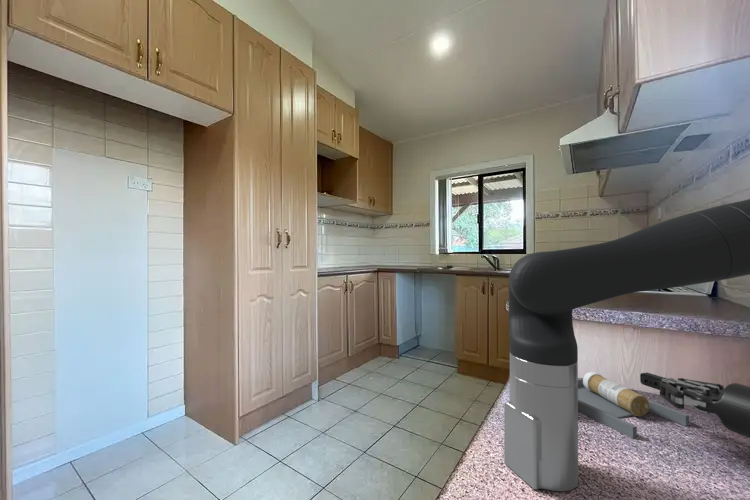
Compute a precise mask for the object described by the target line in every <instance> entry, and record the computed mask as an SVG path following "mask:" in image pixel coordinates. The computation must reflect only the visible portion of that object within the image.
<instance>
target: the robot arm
mask: <svg viewBox="0 0 750 500" xmlns="http://www.w3.org/2000/svg"><path fill="white" fill-rule="evenodd" d="M749 275H750V198H748V199H743V200H739V201H736V202H734V201H733V202H730V203H726V204H722V205H718V206H713V207H710V208H706V209H701V210H697V211H694V212H691V213H686V214H682V215H679V216H677V217H672V218H669V219H667V220H663V221H660V222H658V223H654V224H652V225H650V226H647V227H644V228H642V229H640V230H637V231H634V232H632V233H629V234H627V235H624V236H622V237H619V238H617V239H613V240H609V241H606V242H604V241H603V242H601V243H596V244H590V245H584V246H579V247H571V248H566V249H559V250H549V251H538V252H533V253H529V254H527V255H524V256H522V257H521V258H519V259H518V260H517V261H516V262H515V263H514V264H513V266H512V267H511V269H510V272H509V275H508V276H509V277H508V334H509V401H505V402H504V406H503V407H504V408H503V409H504V410H503V411H504V412H503V413H504V414H503V415H504V419H503V420H504V421H503V424H504V425H503V426H504V428H503V429H504V432H503V433H504V435H503V440H504V441H503V442H504V444H503V448H504V450H503V453H504V455H503V456H504V457H503V460H504V464H505V465H506V466H507V467H508V468H509V469H511V471H513V472H514V474H516V475H517V476H518V477H520V478H521V479H522V480H523V482H525V483H527V484H528V485H529V487H531V488H532V489H534V490H539V489H542V490H548V491H554V492H568V491H571V490H573V489H575V488H576V487H577V486H578V484H579V412H578V378H579V377H578V376H579V374H578V373H579V372H578V371H579V369H578V368H579V365H578V360H579V358H578V357H579V356H578V353H579V352H578V351H579V350H578V343H577V339H576V336H575V329H574V325H573V310H575V309H576V310H577V309H578V308H581V307H585V306H588V305H592V304H596V303H598V302H602V301H603V302H604V301H606V300H609V299H613V298H616V297H620V296H623V295H624V296H625V295H629V294H634V293H638V292H640V293H641V292H646V291H656V290H657V291H659V290H665V289H667V290H668V289H673V288H679V287H686V286H693V285H700V284H706V283H711V282H712V283H713V282H718V281H724V280H729V279H735V278H739V277H744V276H749ZM639 377H640V379H639V380H640V384H641V385H644V386H646V387H649V388H652V389H655V390H659V396H660V397H661V398H663V399H664V400H665V401H666V402H668V403H670V404H671V405H672V406H673V407H674V408H677V409H680V410H684V409H685V405H687V406H689V407H692V408H694V409H695V410H696V411H697V412H698V411H699V412H702V413H704V414H709V415H710V414H715V415H716V416H717V417H718V418H719V420H720V421H721V422H720V423H721V424H722V425H723V426H724V427H725V428H726V429H727V430H729V431H730V432H733V433H735V434H739V435H742V436H744V437H747V438H749V439H750V386H749V385H744V384H741V383H737V382H736V383H735V382H734V383H733V382H732V383H730V384H727V385H726V386H725V385H723V384H721V383H713V382H712V383H711V382H706V381H699V380H693V379H688V378H683V377H679V378H677V379H675V378H673V377H668V378H667V377H664V376H661V375H657V374H653V373H650V372H641V373H640V376H639ZM724 386H725V387H724Z"/></svg>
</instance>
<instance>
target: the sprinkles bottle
mask: <svg viewBox="0 0 750 500" xmlns="http://www.w3.org/2000/svg"><path fill="white" fill-rule="evenodd" d="M582 378H583V384H584V386H585V388H587V389H588V390H590V391H591V392H594V393H597V394H598V395H600V396H602V397H603V398H605V399H607V400H608V401H610V402H612V403H614V404H616V405H617V406H619V407H621V408H623V409H625V410H627V411H629V412H631V413H632V414H633V415H634V416H636V417H643V416H645V415H647V414H648V413H647V412H648V409H649V402H648V400H649V399H648V398H647V397H646V396H645V395H643V394H640V393H637V392H636V391H633V390H632V389H630V388H628V387H626V386H624V385H621V384H620V383H617V382H616V381H613V380H611V379H608V378H606V377H604V376H602V374H599V373H597V372H594V371H588V372H587V373H585V374H584V375H583V377H582Z"/></svg>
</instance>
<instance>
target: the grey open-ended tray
mask: <svg viewBox="0 0 750 500" xmlns="http://www.w3.org/2000/svg"><path fill="white" fill-rule="evenodd" d="M648 402H649V409H648V412H647V413H646V414H648V413H652V414H654V415H657V416H659V417H662V418H665V419H668V420H669V421H672V422H675V423H677V424H680V425H683V426H685V427H688V426H690V414H687V413H684V412H682V411H680V410H677V409H674V408H671V407H669V406H666V405H663V404H660V403H658V402H656V401H652V400H650V399H648ZM578 413H580V414H583V415H585V416H587V417H588V418H591V419H592V420H595V421H597V422H598V423H601V424H602V425H605V426H606V427H609V428H610V429H613V430H615V431H617V432H619V433H620V434H623V435H625V436H627V437H629V438H630V439H637V437H638V436H637V435H638V431H637V430H638V429H637V427H638V426H637V425H636V426H635V424H631V423H629V422H627V421H626V420H623V418H628V417H632V416H633V417H634V416H635V415H633V414H632V413H631V412H629V411H627V410H625V409H623V408H621V407H619V406H617V405H616V404H614V403H612V402H610V401H608V400H607V399H605V398H603V397H602V396H600V395H598V394H597V393H594V392H591V391H590V390H588V389H587V388H585V386H584V384H583V377H578Z"/></svg>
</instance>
